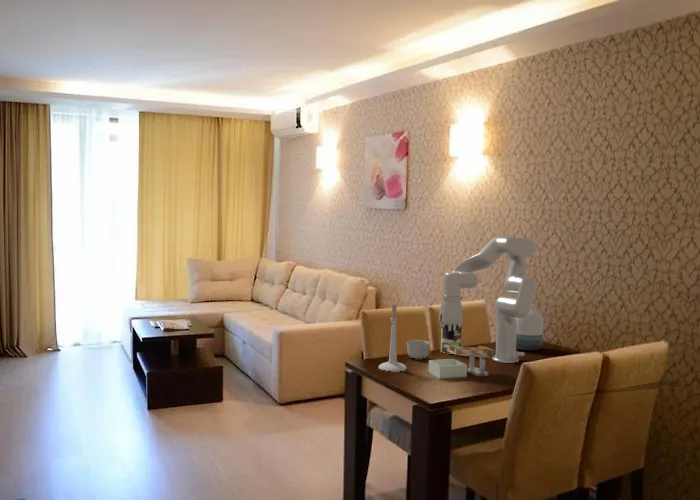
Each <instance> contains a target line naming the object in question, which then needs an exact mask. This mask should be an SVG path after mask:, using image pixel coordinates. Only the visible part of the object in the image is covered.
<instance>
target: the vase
mask: <svg viewBox="0 0 700 500" xmlns="http://www.w3.org/2000/svg"><path fill="white" fill-rule="evenodd" d="M515 320H516V323H517V334H516V350H519V349H520V351H526V350H528V351H529V352H531V351H537V350H540V349H541V348H542V346H543V339H544V317H543V314H542V313H541V312H540V311H539V310H538V309H537V308H536V307H535V306H534V304H533V303H532V306H531V309H530V312H529V314H528V315H527V316H526V317H525V318H516V317H515Z"/></svg>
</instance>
